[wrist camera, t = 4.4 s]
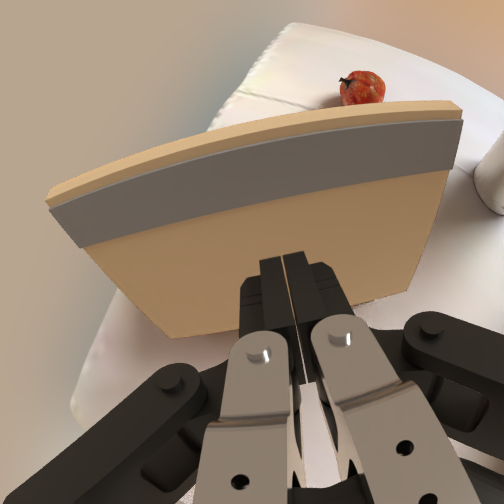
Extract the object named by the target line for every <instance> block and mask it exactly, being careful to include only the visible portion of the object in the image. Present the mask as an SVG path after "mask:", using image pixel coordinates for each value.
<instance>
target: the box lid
mask: <svg viewBox="0 0 504 504" xmlns="http://www.w3.org/2000/svg"><path fill="white" fill-rule="evenodd" d="M461 116H462V109H461V108H459V107H458V106H457V105H456V104H454V103H453V102H452V101H442V100H437V101H400V102H383V103H370V104H359V105H349V106H340V107H332V108H325V109H318V110H311V111H304V112H298V113H292V114H286V115H281V116H275V117H270V118H265V119H260V120H255V121H251V122H246V123H242V124H237V125H233V126H229V127H225V128H221V129H217V130H213V131H209V132H205V133H201V134H198V135H194V136H191V137H187V138H183V139H180V140H177V141H173V142H170V143H167V144H164V145H160V146H157V147H154V148H151V149H148V150H145V151H142V152H139V153H136V154H134V155H131V156H128V157H125V158H123V159H119V160H117V161H114V162H112V163H109V164H106V165H104V166H101V167H99V168H96V169H94V170H91V171H89V172H86V173H84V174H81V175H79V176H77V177H74V178H72V179H70V180H67V181H65V182H63V183H61V184H58V185H56V186H54V187H52V188H51V190H50V192H49V194H48V196H47V198H46V200H45V202H46V203H47V204H48V206H49V207H50V208H49V211H50V213H51V214H52V215H53V217H54V218H55V219H56V220H57V221H58V223H59V224H60V225H61V226H62V228H63V229H64V230H65V231H66V233H67V234H68V235H69V236H70V238H71V239H72V240H73V241H74V242H75V243H76V245H77V246H78V247H79V248H83V249H84V250H85V251H86V252H87V254H88V255H89V256H90V257H91V258H92V259H93V260H94V261H95V263H96V264H97V265H98V266H99V267H100V268H101V269H102V270H103V272H104V273H105V274H106V275H107V276H108V277H109V278H110V279H111V280H112V281H113V282H114V283H115V284H116V286H117V287H118V288H119V289H120V290H121V291H122V292H123V293H124V294H125V295H126V296H127V297H128V298H129V299H130V300H131V301H132V302H133V303H134V304H135V305H136V306H137V307H138V308H139V309H140V310H141V311H142V312H143V313H144V314H145V315H146V316H147V317H148V318H149V319H150V320H151V321H152V322H153V323H154V324H155V325H156V326H157V327H158V328H159V329H161V330H162V331H163V332H164V333H165V334H166V335H167V336H168V337H169V338H170V339H176V338H183V337H190V336H197V335H204V334H210V333H217V332H223V331H229V330H235V329H239V310H240V287H241V285H242V284H243V282H244V281H245V279H246V278H247V277H252V276H257V275H260V265H259V260H262V259H267V258H271V257H276V256H281V261H282V265H283V269H284V274H285V278H286V283H287V288H288V292H289V287H288V282H287V277H286V272H285V267H284V262H283V257H282V255H285V254H290V253H294V252H299V251H304V253H305V256H306V258H307V261H308V263H309V264H313V263H318V262H324V263H325V264H327V265H328V266H330V267H331V268H332V269H333V271H334V273H335V275H336V277H337V279H338V281H339V283H340V286H341V287H342V289H343V291H344V293H345V295H346V297H347V300H348V302H349V304H350V306H351V305H355V304H359V303H363V302H367V301H371V300H375V299H378V298H382V297H386V296H390V295H393V294H397V293H401V292H404V291H407V289H408V287H409V284H410V282H411V280H412V278H413V275H414V273H415V270H416V268H417V266H418V263H419V261H420V258H421V256H422V253H423V250H424V248H425V245H426V243H427V240H428V237H429V234H430V232H431V229H432V226H433V223H434V220H435V217H436V214H437V211H438V208H439V205H440V202H441V198H442V195H443V192H444V188H445V185H446V181H447V178H448V174H449V170H451V169H453V165H454V161H455V157H456V153H457V149H458V144H459V140H460V135H461V131H462V126H463V121H464V120H462V119H461ZM289 297H290V292H289ZM290 301H291V297H290ZM291 306H292V302H291ZM292 311H293V307H292ZM293 315H294V311H293ZM294 318H295V316H294Z"/></svg>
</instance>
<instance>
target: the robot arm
mask: <svg viewBox="0 0 504 504" xmlns="http://www.w3.org/2000/svg"><path fill="white" fill-rule="evenodd" d="M474 183H475V187H476V189H477V192H478V194H479V196H480V197H481V199H482V200H483V202H484V203H485V204H486V205H487V206H488V207H489V208H490V209H491V210H492V211H494V212H495V213H497V214H500V215H504V131H503V133H502V134H501V135H500V137H499V138H498V140H497V141H496V142H495V144H494V145H493V146H492V148H491V149H490V150H489V152H488V153H487V154H486V156H485V157H484V158H483V159H482V161H481V162H480V163H479V165H478V166H477V167H476V169H475V171H474ZM282 257H283V262H284V267H285V272H286V277H287V282H288V287H289V292H290V297H291V301H290V297H289V292H288V288H287V283H286V278H285V274H284V269H283V265H282V261H281V256H276V257H271V258H267V259H262V260H259V265H260V275H257V276H252V277H247V278H246V279H245V281H244V282H243V284H242V285H241V287H240V310H239V340H238V341H237V342H236V343H235V344H234V345H233V346H232V348H231V350H230V353H229V358H228V359H227V360H226V361H224V362H223V363H221V364H219V365H217V366H215V367H212V368H210V369H207V370H205V371H202V372H199V373H198V371H197V370H196V369H195V368H194V367H193V366H191V365H189V364H185V363H174V364H170V365H167V366H165V367H162V368H161V369H159V370H158V371H156V372H155V373H154V374H153V375H152V376H151V377H149V378H148V379H147V380H146V381H145V382H144V383H143V384H141V385H140V386H139V387H138V388H137V389H136V390H135V391H133V392H132V393H131V394H130V395H129V396H128V397H126V398H125V399H124V400H123V401H122V402H121V403H119V404H118V405H117V406H116V407H115V408H114V409H112V410H111V411H110V412H109V413H108V414H107V415H105V416H104V417H103V418H102V419H101V420H100V421H98V422H97V423H96V424H95V425H94V426H92V427H91V428H90V429H89V430H88V431H87V432H85V433H84V434H83V435H82V436H81V437H79V438H78V439H77V440H76V441H75V442H73V443H72V444H71V445H70V446H69V447H67V448H66V449H65V450H64V451H63V452H61V453H60V454H59V455H58V456H56V457H55V458H54V459H53V460H51V461H50V462H49V463H48V464H47V465H45V466H44V467H43V468H42V469H40V470H39V471H38V472H37V473H36V474H34V475H33V476H32V477H30V478H29V479H28V480H27V481H25V482H24V483H23V484H22V485H20V486H19V487H18V488H17V489H15V490H14V491H13V492H11V493H10V494H9V495H8V496H7V497H6V499H5V500H4V502H3V504H175V503H176V502H177V501H178V500H179V499H180V498H181V497H183V496H184V495H185V494H186V493H187V492H188V491H189V490H190V489H191V488H192V487H193V486H194V485H195V484H196V486H195V492H194V498H193V504H504V476H503V475H501V474H498V473H496V472H494V471H492V470H490V469H487V468H485V467H483V466H481V465H479V464H477V463H474V462H472V461H469V460H466V459H463V458H459V457H458V456H457V454H456V452H455V450H454V448H453V446H452V444H451V442H450V440H449V439H448V437H449V438H452V439H454V440H456V441H458V442H461V443H463V444H465V445H467V446H470V447H472V448H474V449H477V450H479V451H481V452H484V453H486V454H489V455H491V456H494V457H496V458H499V459H501V460H504V335H503V334H500V333H497V332H494V331H491V330H488V329H486V328H483V327H480V326H477V325H474V324H471V323H468V322H466V321H463V320H460V319H457V318H454V317H451V316H448V315H446V314H443V313H439V312H434V311H427V312H421V313H418V314H416V315H414V316H412V317H411V318H409V320H408V321H407V322H406V324H405V326H404V330H377V329H373V328H370V327H368V325H367V324H366V323H365V322H364V321H363V320H362V319H360V318H359V317H356V316H355V314H354V312H353V310H352V308H351V306H350V304H349V302H348V300H347V297H346V295H345V293H344V291H343V289H342V287H341V286H340V283H339V281H338V279H337V277H336V275H335V273H334V271H333V269H332V268H331V267H330V266H328V265H327V264H325V263H324V262H318V263H313V264H309V263H308V261H307V258H306V256H305V253H304V251H299V252H294V253H290V254H285V255H282ZM291 302H292V306H291ZM292 307H293V311H294V315H293V311H292ZM294 316H295V320H294ZM295 321H296V325H297V330H298V335H299V339H300V344H301V349H302V354H303V359H304V364H305V369H306V374H307V379H308V383H311V382H315V381H316V385H317V389H318V395H319V403H320V407H321V410H322V413H323V416H324V420H325V423H326V426H327V429H328V433H329V436H330V439H331V442H332V446H333V449H334V452H335V456H336V460H337V464H338V470H339V475H340V479H341V482H339V483H337V484H335V485H333V486H330V487H327V488H306V477H305V469H304V453H303V433H302V415H301V406H300V405H301V393H300V387H299V385H302V384H306V380H305V374H304V369H303V363H302V358H301V352H300V347H299V341H298V336H297V330H296V325H295ZM445 378H446V379H445ZM452 381H453V382H452ZM457 383H458V384H457ZM464 386H465V387H464ZM469 388H470V389H469ZM474 390H475V391H474ZM479 392H480V393H479Z"/></svg>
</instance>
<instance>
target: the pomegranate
mask: <svg viewBox="0 0 504 504" xmlns="http://www.w3.org/2000/svg"><path fill="white" fill-rule="evenodd" d="M340 81H342V83H341V85H340V94H341V97H342V103H343V105H344V106H349V105H359V104H370V103H382V101H383V99H384V94H385V89H386V88H385V83H384V82H383V80H382V79H381V78H380V77H379V76H378V75H376V74H375V73H373V72H370V71H353V72H352V73H350V74H349V76H348V77H347V78H345V79H343V78H342V77H341V78H340V80H339V82H340Z"/></svg>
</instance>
